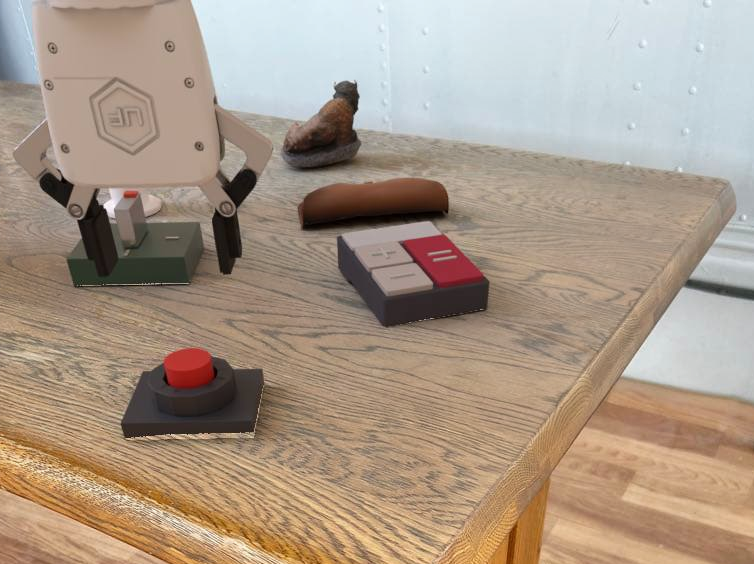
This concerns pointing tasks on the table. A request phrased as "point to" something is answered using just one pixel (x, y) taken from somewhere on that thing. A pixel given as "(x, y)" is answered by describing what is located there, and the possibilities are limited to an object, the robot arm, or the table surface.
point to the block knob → (131, 219)
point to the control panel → (145, 257)
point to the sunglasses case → (372, 199)
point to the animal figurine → (325, 132)
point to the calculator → (411, 273)
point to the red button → (189, 368)
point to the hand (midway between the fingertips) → (168, 267)
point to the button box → (194, 403)
